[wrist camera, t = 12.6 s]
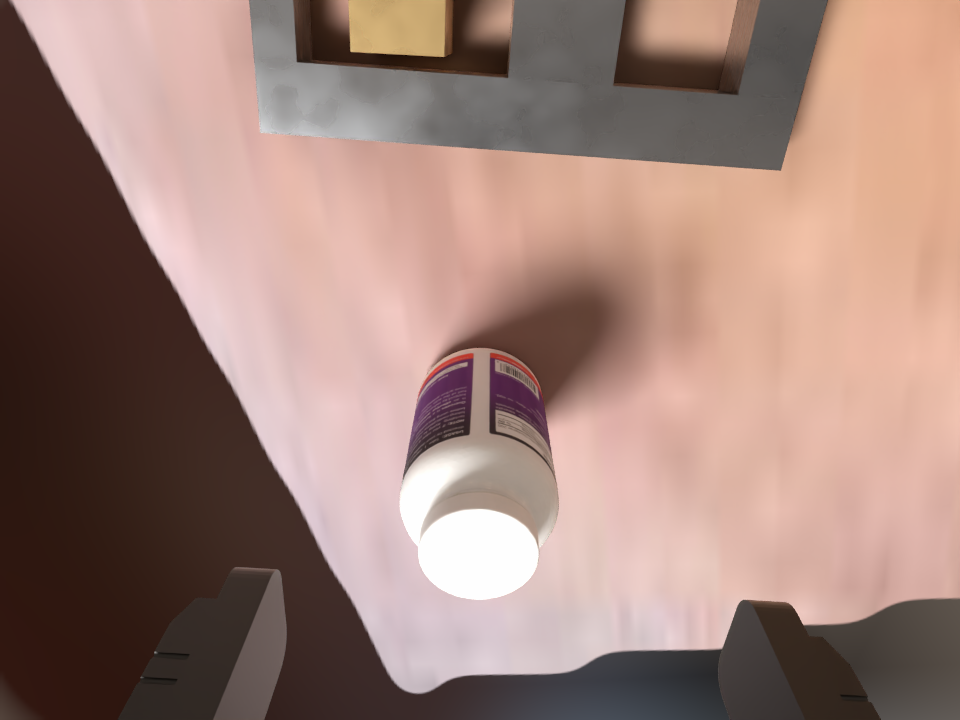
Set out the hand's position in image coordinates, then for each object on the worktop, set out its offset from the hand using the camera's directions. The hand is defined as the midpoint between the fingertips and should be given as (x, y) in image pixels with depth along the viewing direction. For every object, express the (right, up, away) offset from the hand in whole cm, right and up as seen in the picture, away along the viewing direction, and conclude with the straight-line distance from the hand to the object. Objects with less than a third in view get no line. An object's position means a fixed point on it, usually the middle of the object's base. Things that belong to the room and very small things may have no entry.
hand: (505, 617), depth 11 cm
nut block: (-4, +22, +20) cm, 30 cm away
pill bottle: (0, +2, +31) cm, 31 cm away
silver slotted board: (+2, +22, +21) cm, 30 cm away
